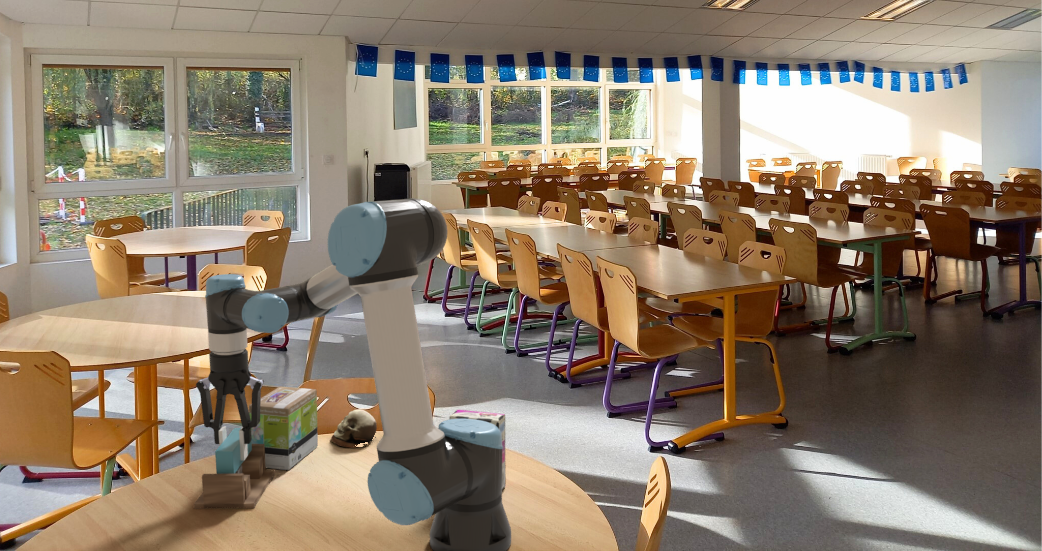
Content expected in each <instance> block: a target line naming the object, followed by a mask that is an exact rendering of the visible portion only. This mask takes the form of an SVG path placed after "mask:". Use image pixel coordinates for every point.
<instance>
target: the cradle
mask: <svg viewBox="0 0 1042 551" xmlns="http://www.w3.org/2000/svg"><path fill="white" fill-rule="evenodd" d="M275 475H276V469H267V468H266V466H265V446H264V444H252V450H251V452H250V453H249V454H248V456H247V457H246V459H245V460H244V461H243V463H242V464H241V466H240V467H239V468H238V470H237V471H236V473H235V474H217V473H202V475H201V482H202V484H201V485H202V486H201V487H202V492H201V494H200V495H199V497H198V498H197V499H196V500H195V501H194V502H193V509H194V510H195V509H199V510H200V509H206V510H207V509H255V507H256V506H257V504H258V502H259V501H260V499H261V497H263V495H264V493H265V492H266V490H267V488H268V486H269V484H270V483H271V481H272V480H273V478H274V477H275Z"/></svg>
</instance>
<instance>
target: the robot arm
mask: <svg viewBox="0 0 1042 551" xmlns="http://www.w3.org/2000/svg"><path fill="white" fill-rule="evenodd" d="M447 239H448V225H447V222H446V219H445V217H444V215H443V214H442V212H441V211H440V210H439V209H438V208H437V207H436V206H435V205H434V204H432V203H431V202H429V201H427V200H425V199H421V198H416V197H415V198H414V197H413V198H404V199H403V198H402V199H390V200H377V201H375V200H374V201H364V202H361V203H355V204H351V205H348V206H346V207H343V208H342V209H341V210H340V211H339V212H338V213H337V214H336V215H335V217H334V220H333V221H332V222H331V224H330V227H329V231H328V235H327V253H328V256H329V260H330V263H331V265H329V266H327V267H325V268H324V269H323V270H321V271H319V272H317V273H316V274H314V275H312V276H311V277H309V278H307V280H304V281H302V282H299V283H295V284H290V285H285V286H279V287H274V288H270V289H263V290H251V289H247V288H246V283H245V278H244V276H242V275H240V274H231V273H229V274H227V273H226V274H217V275H211V276H210V277H208V278H207V279H206V281H205V296H204V298H205V308H206V319H207V336H208V337H207V338H208V350H209V351H210V352H209V355H208V357H209V370H210V371H209V374H208V377H205V378H200V379H199V380H198V381H197V382H196V383H195V386H196V389H197V390H198V392H199V396H200V403H201V405H200V406H201V410H202V411H201V412H202V413H201V414H202V420H203V425H204V427H205V428H210V429H213V438H214V444H215V445H218V447H219V446H220V445H221V444H222V442H224V440H225V439H226V438H227V436H228V434H227V433H228V432H227V426H223V424H224V422H223V421H224V414H225V407H226V402H227V401H226V400H227V396H228V395H232V396H233V397H234V400H235V401H236V405H237V409H238V413H239V418H240V422H241V427H240V428H241V429H240V430H239V439H240V457H241V461H244V460H245V459H246V457H247V456H248V448H247V444H249V443H250V442H251V440H252V435H251V428H252V427H256V426H257V425H258V424H259V422H260V404H261V398H262V397H261V394H262V393H261V392H262V391H261V390H262V388H263V384H264V382H265V381H264V379H263V378H259V379H258V378H255V377H253V376H252V373H250V369H249V367H250V366H249V351H248V350H247V348H248V330H251V331H254V332H258V333H260V334H261V333H262V334H263V333H267V334H272V333H273V334H274V333H277V332H279V331H280V329H282V328H283V327H284V326H286V325H287V324H292V323H295V322H300V321H304V320H309V319H315V318H322V317H325V316H327V315H330V314H332V313H333V312H335V311H336V310H337V308H338V305H339V304H341V303H343V302H344V301H347V300H349V299H350V298H352V297H353V296H356V295H357V294H358V296H360V301H361V308H362V312H363V319H364V326H365V331H366V338H367V344H368V350H369V355H370V360H371V367H372V373H373V374H372V375H373V379H374V384H375V390H376V391H375V392H376V397H377V401H378V407H379V415H380V421H381V427H382V431H383V432H382V433H383V434H382V437H381V438H380V440H379V441H378V443H377V444H376V452H377V459H378V461H377V462H376V463H374V464H373V465H372V466H371V468H370V470H369V472H368V475H367V488H368V492H369V495H370V498H371V501H372V502H373V503H374V505H375V507H376V508H377V510H378V511H379V512H380V513H381V514H383V516H384V517H385V518H386V519H387V520H388V521H390V522H391V523H394V524H397V525H401V526H411V525H413V524H414V525H415V524H417V523H419V522H421V521H425V520H428V519H430V518H431V517H432V516H434V518H433V520H432V524H431V525H430V526H431V527H430V529H429V546H430V549H431V550H433V551H508V550H509V548H510V546H511V544H512V528H511V525H510V522H509V519H508V516H507V513H506V510H505V508H504V503H503V490H502V449H503V446H502V434H501V431H500V429H499V428H498V427H497V426H495V425H494V424H492V423H489V422H486V421H481V420H475V419H446V420H443V421H441V422H439V424H438V427H437V426H436V425H435V424H434V418H433V413H432V412H433V411H432V408H431V400H430V394H429V389H428V388H429V387H428V382H427V377H426V376H427V375H426V370H425V363H424V358H423V352H422V345H421V340H420V333H419V328H418V327H419V326H418V321H417V314H416V308H415V303H414V298H413V297H414V296H413V290H412V287H413V284H414V283H415V282H416V280H417V279H418V277H419V271H418V267H419V266H421V265H424V264H425V263H427V262H429V261H431V260H433V259H435V258H436V257H438V256H439V255H440V253H441V252H443V249H444V247H445V245H446V243H447ZM248 384H250V388H251V390H252V391H251V404H252V409H251V419H250V414H249V405H248V402H247V398H246V391H245V388H246V387H247V385H248ZM211 386H213V387H214V389H215V390H216V398H215V399H216V401H215V402H216V403H215V409H214V412H213V404H212V397H211V389H210V388H211Z"/></svg>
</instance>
